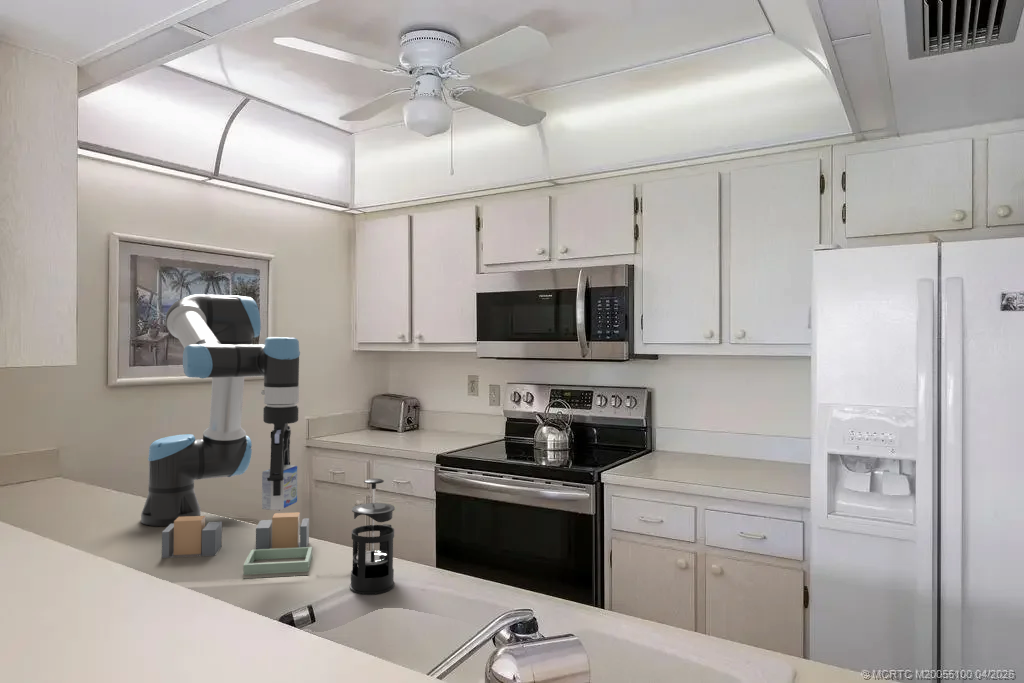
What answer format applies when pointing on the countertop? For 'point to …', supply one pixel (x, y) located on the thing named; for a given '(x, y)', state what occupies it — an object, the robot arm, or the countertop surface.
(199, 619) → the countertop surface
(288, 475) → the medicine box
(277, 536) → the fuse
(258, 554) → the tray
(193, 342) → the robot arm
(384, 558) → the french press
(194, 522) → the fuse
